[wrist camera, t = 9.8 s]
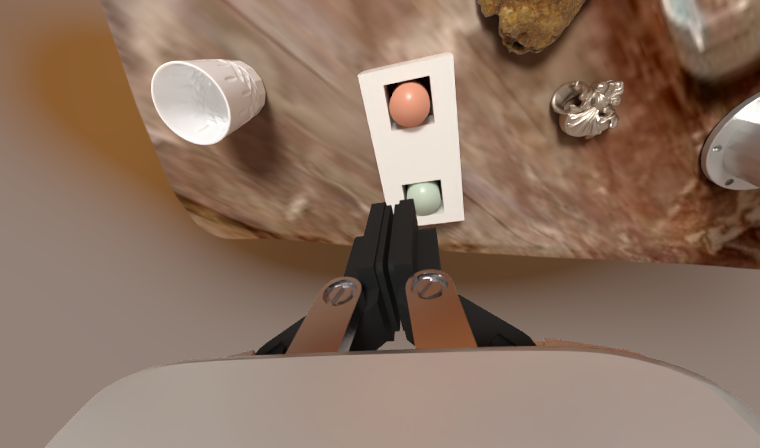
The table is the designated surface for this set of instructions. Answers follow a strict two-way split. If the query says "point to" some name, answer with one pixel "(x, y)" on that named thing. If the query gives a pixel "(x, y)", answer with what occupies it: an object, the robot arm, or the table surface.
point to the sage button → (424, 196)
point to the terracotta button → (409, 103)
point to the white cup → (206, 97)
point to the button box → (417, 135)
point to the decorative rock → (530, 21)
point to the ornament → (588, 107)
